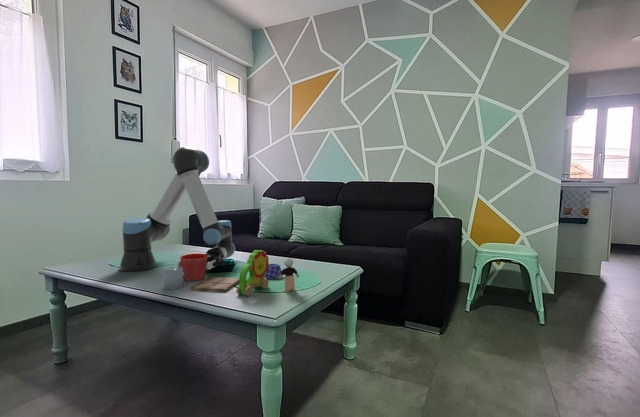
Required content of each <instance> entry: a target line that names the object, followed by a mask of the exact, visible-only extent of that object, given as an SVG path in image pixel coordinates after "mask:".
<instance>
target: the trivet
mask: <svg viewBox="0 0 640 417" xmlns="http://www.w3.org/2000/svg"><path fill="white" fill-rule="evenodd" d="M238 282H239V277H238V278H236V277H235V278H234V277H216V276H214V277H213V276H207V277H206V278H203V279H202V280H200V281H198V283H196V284H194V285H192V286H191V287H190V291H198V292H200V291H201V292H212V293H213V292H214V293H217V292H218V293H226V292H229V290H231V289H232V288H233V287H235V286H236V285H237V284H239V283H238Z"/></svg>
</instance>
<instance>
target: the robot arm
mask: <svg viewBox="0 0 640 417" xmlns="http://www.w3.org/2000/svg"><path fill="white" fill-rule="evenodd" d="M172 161H173V166H174V169H175V171H176V173H175V174H174V177H172V179H171V182H170V183H169V185H168V186H167V188H166V190H165V192H164V194H163V195H162V197H161V198H160V200H159V202H158V203H157V206H156V207H155V208H154V210H153V211H150V212H149V213H148V214H147V215H146V217H136V218H131V219H127V220H125V221H123V223H122V238H123V239H122V243H123V245H122V246H123V255H122V257H121V261H120V264H119V269H120V271H122V272H141V271H142V272H143V271H147V270H151V269H154V268H155V267H156V266H157V262H156V259H155V256H154V254H153V251H152V250H153V249H152V243H154V242H157V241H158V242H159V241H161V240H163V239H165V238H166V237H168V235H169V233H170V231H171V227H170V226H171V224H172V220H171V219H172V217H173V214H174V213H175V211H176V210H177V208H178V206H179V205H180V203H181V201H182V199H183V198H184V196H185V194H186V193H187V195H188V197H189V199H190V201H191V204H192V206H193V209H194V211H195V213H196V216H197V218H198V219H199V224H200V225H201V227H202V230H203V235H202V237H203V238H202V239H203V242H205V243H206V244H208V245H212V246H213V245H216V246H213V247H212V248H209V249H208V250H206V252H205V254H206V255H207V256H208V258H207V264H206V270H211V269H213V268H215V267H216V266H217V267H218V266H224V265H225V261H226V259H228V258H230V257H232V256H233V255H234V254H235V252H236V247H235V245H234V243H233V235H232V233H233V231H232V228H233V227H232V222H231V220H228V219H227V220H226V219H224V220H222V219H221V220H218V218H217V216H216V213H215V211H214V209H213V206H212V204H211V202H210V199H209V197H208V195H207V191H206V190H205V188H204V185H203V182H202V180H201V177H200V176H201V174H202V173H204V172H205V171H206V170H208V168H209V166H210V158H209V156H208V154H207V153H206V152H205V151H203V150H202V149H199V148H194V147H191V146H182V147H179V148H178V149H176V151H175V152H174V154H173V157H172ZM219 260H220V261H219ZM208 262H209V263H208ZM176 267H181V268H182V265H181V260H178V261H177V262H176Z"/></svg>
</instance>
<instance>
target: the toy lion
mask: <svg viewBox="0 0 640 417" xmlns="http://www.w3.org/2000/svg"><path fill="white" fill-rule="evenodd" d="M269 258H270V257H269V256H268V254H267V252H266V251H264V250H261V249H260V250H259V249H258V250H257V249H255V250H253V251H252V252H251V253H250V254H249V257H248V259H247V262H246V263H245V264H244V265H243V266H242V268H241V270H240V273H239V277H238V278H239V283H238V285H237V286H236V295H239V296H240V295H245V296H246V297H251V296H252V295H253V293H254V288H262V289H264V290H265V289H267V288H268V287H269V283H270V282H269V279H265V273H266V272H267V268H268V266H269V264H270V263H269V261H270V260H269ZM248 272H249V276H248V278H247V275H248Z"/></svg>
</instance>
